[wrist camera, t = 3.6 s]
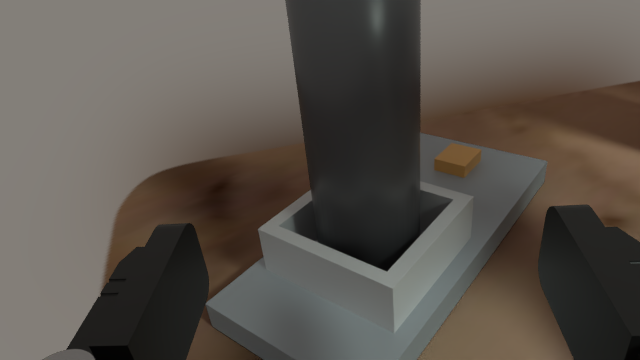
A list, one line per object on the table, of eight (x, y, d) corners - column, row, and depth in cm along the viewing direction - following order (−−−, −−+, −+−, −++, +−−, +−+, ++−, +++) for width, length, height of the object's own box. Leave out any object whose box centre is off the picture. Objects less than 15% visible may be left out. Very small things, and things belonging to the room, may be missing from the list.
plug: (357, 213, 28) (326, -176, 19) (438, 242, 25) (449, -201, 16) (300, 263, 25) (228, -176, 16) (385, 303, 22) (360, -207, 13)
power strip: (417, 150, 37) (417, 99, 34) (544, 181, 31) (553, 124, 29) (212, 326, 24) (192, 262, 22) (367, 427, 19) (361, 356, 17)
